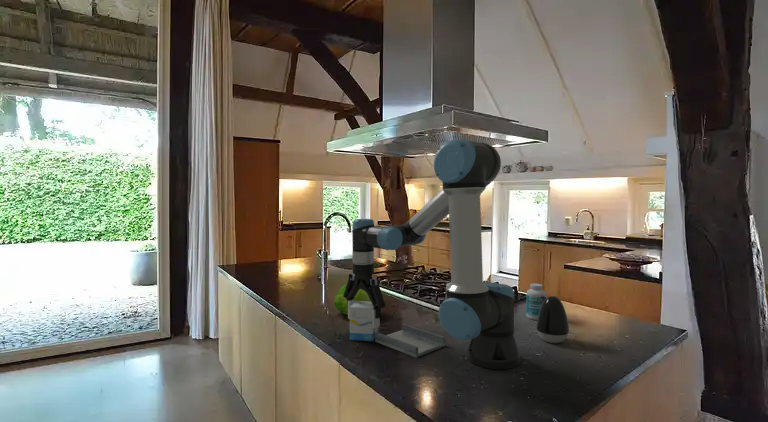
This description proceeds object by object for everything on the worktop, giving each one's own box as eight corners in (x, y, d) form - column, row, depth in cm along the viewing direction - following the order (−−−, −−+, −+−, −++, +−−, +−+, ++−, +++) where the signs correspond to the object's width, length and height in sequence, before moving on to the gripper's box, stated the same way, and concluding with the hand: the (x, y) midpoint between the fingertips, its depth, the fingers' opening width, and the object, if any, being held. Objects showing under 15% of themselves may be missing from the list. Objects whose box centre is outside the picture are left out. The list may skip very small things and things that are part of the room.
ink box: (373, 341, 139) (372, 308, 139) (349, 340, 141) (348, 306, 140) (378, 333, 147) (378, 301, 147) (355, 332, 149) (355, 300, 149)
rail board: (445, 345, 134) (445, 336, 134) (416, 357, 125) (416, 348, 125) (404, 332, 148) (404, 323, 148) (375, 341, 139) (375, 332, 139)
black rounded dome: (552, 333, 145) (552, 291, 145) (575, 343, 135) (576, 298, 135) (529, 337, 141) (529, 294, 141) (551, 348, 132) (552, 301, 131)
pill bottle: (527, 320, 161) (527, 286, 160) (525, 314, 168) (525, 282, 168) (547, 321, 159) (547, 287, 159) (544, 315, 166) (544, 283, 166)
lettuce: (368, 323, 159) (368, 288, 159) (325, 316, 168) (325, 284, 168) (386, 312, 173) (385, 281, 172) (345, 307, 182) (345, 277, 181)
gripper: (395, 266, 136) (395, 328, 138) (349, 257, 155) (350, 312, 156) (378, 269, 131) (378, 334, 132) (333, 259, 150) (334, 316, 151)
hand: (363, 322), depth 144 cm, fingers open, 13 cm apart
